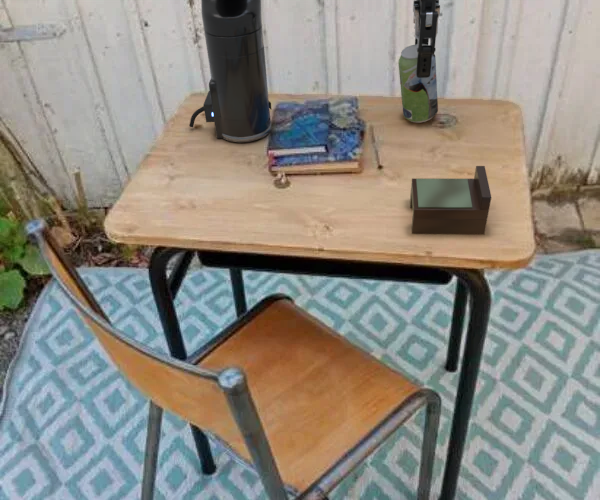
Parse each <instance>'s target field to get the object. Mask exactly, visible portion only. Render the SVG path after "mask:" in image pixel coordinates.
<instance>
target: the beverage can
mask: <svg viewBox="0 0 600 500" xmlns="http://www.w3.org/2000/svg"><path fill="white" fill-rule="evenodd" d="M422 45H426V44H422ZM417 48H418V44H415V43H414V44H412V45H409V46H406V47H405V48H403V49H402V50H401V52H400V56H399V58H398V74H399V85H400V94H401V107H402V115H403V118H404V119H406V120H407V121H409V122H411V123H416V124H420V123H426V122H427V121H430V120H431V119H433V118H434V117H435V116H436V115H437V114H438V112H439V104H438V103H439V101H438V99H439V98H438V83H437V81H438V80H437V63H436V54H435V53H434V54H432V62H431V73H430V76H429V77H428V78H418V77H417V75H416V71H417V57H418V54H417Z"/></svg>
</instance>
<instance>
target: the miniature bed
mask: <svg viewBox="0 0 600 500" xmlns="http://www.w3.org/2000/svg"><path fill="white" fill-rule="evenodd" d="M488 179H489V178H488V175H487V170H486V166H485V165H476V166H475V171H474V177H473V178H411V185H410V194H409V195H410V196H409V208H410V209H412V216H411V234H412V235H485V232H486V227H487V223H488V218H489V211H490V207H491V201H492V193H491V188H490V183H489V180H488Z"/></svg>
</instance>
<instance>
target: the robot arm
mask: <svg viewBox="0 0 600 500" xmlns="http://www.w3.org/2000/svg"><path fill="white" fill-rule="evenodd" d="M412 1H413V3H412V13H413V14H412V18H413V19H412V23H413V24H414V26H413V29H414V45H415V44H418V48H417V54H418V57H417V71H416V75H417V77H418V78H428V77H429V76H430V73H431V62H432V54H435V53H436V42H437V41H436V39H437V36H438V30H439V29H438V28H439V18H440V15H441V4H440V0H412ZM200 4H201V9H200V11H201V18H202V27H203V31H204V39H205V45H206V46H205V47H206V51H207V59H208V66H209V73H210V79H209V81H208V89H209V90H208V92H207V95H206V97H205V100H204V101H203V106H202V107H199V108H198V109H196V110H195V111H194V112H193V113H192V115H191V117H190V120H189V124H188V125H189V127H190V128H194V125H195V121H196V118H197V117H198V116H199V115H200V114H201V113H203V112H204V117H205V123H214V129H215V137H216V138H217V139H223V140H225V141H228V142H233V143H250V142H251V143H252V142H255V141H258V140H260V139H263V138H265V137H267V136H268V135H269V134H270V133H271V131H272V127H273V126H272V119H271V110H272V103H271V101H270V99H269V88H268V87H269V86H268V74H267V63H266V62H267V61H266V52H265V41H264V28H263V17H262V15H263V13H262V0H200ZM429 41H430V42H429ZM422 44H426V45H422Z"/></svg>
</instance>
